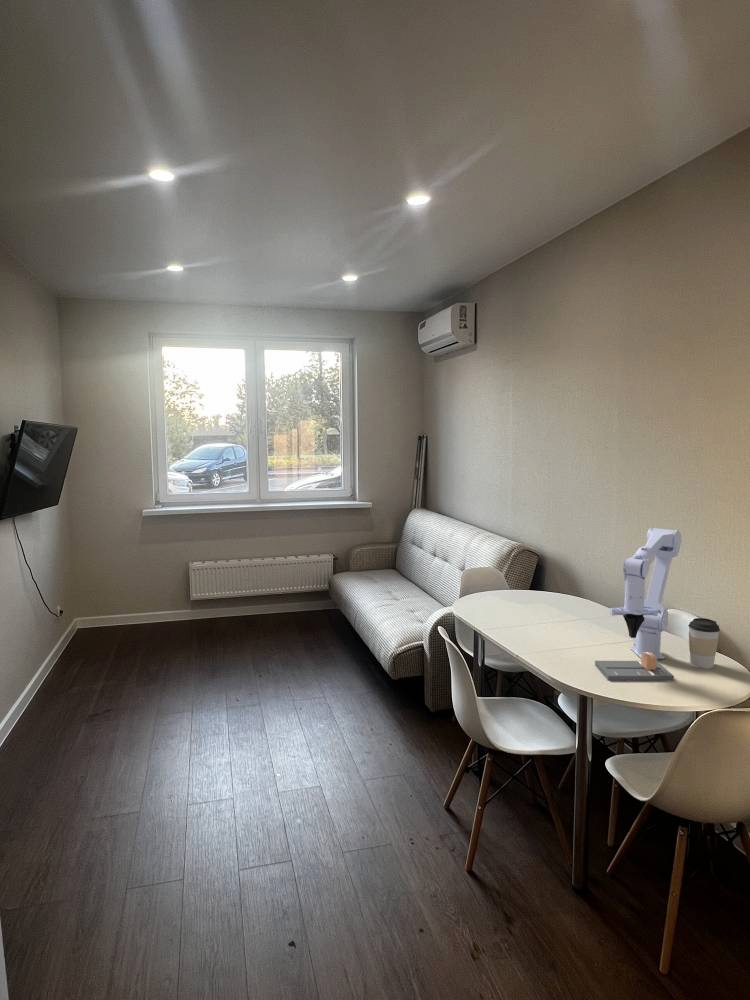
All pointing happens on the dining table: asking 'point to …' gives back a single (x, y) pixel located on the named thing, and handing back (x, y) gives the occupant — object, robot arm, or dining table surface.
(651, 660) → the fader tab
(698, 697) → the dining table surface
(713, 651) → the coffee cup
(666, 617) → the robot arm
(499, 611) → the dining table surface
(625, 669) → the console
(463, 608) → the dining table surface
